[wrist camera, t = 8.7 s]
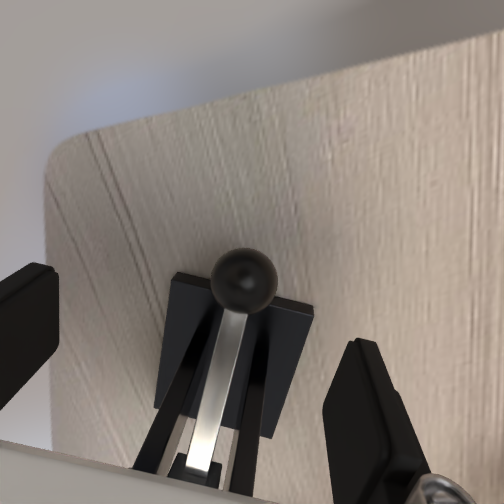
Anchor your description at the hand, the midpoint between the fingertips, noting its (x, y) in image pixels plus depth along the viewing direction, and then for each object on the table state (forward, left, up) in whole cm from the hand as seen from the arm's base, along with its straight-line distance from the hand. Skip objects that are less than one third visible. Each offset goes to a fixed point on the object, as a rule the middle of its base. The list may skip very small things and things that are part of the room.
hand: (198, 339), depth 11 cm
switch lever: (+2, -5, -5) cm, 7 cm away
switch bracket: (+2, -9, -11) cm, 14 cm away
